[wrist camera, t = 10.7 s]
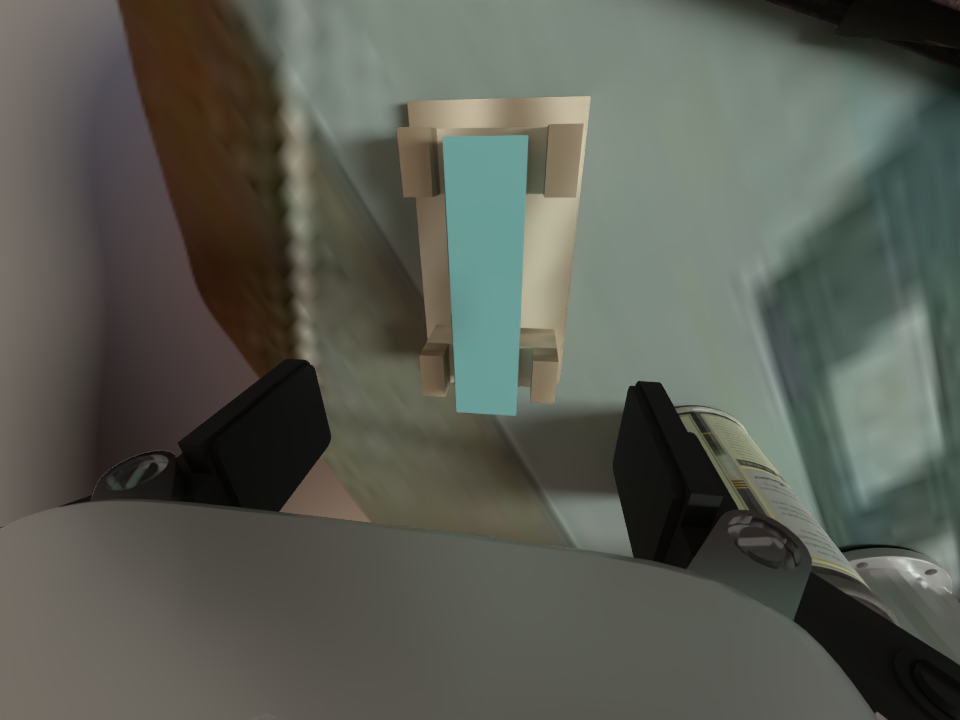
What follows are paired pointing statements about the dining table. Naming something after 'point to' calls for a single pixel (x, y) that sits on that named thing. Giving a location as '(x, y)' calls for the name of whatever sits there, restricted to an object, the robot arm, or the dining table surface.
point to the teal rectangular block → (486, 266)
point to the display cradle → (547, 222)
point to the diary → (894, 23)
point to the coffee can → (773, 498)
